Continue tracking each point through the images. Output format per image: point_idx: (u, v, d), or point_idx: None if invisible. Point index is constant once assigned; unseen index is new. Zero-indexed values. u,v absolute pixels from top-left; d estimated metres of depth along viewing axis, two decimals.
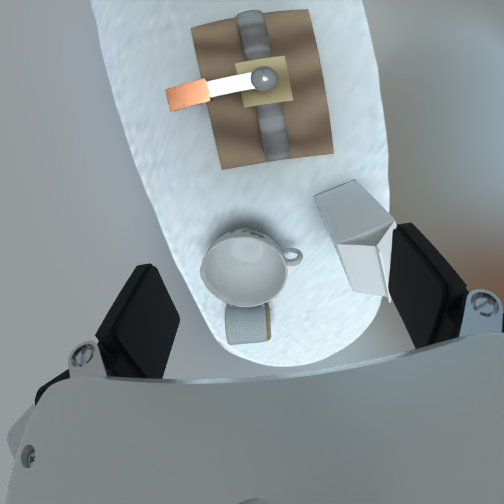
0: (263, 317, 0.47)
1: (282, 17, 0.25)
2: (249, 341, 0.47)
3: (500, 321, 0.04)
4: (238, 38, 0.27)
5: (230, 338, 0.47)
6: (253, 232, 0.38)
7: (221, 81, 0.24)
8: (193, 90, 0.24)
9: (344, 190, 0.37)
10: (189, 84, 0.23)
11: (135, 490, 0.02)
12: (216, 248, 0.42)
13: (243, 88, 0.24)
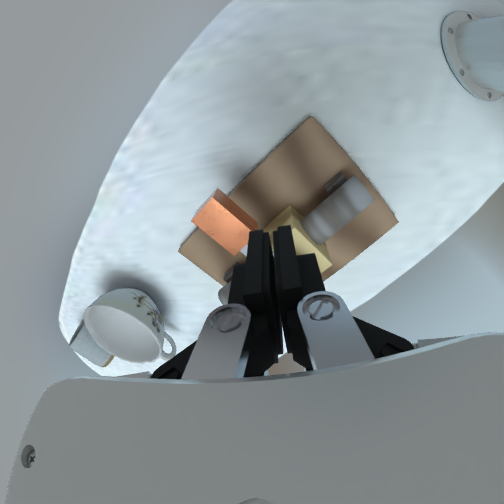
0: None
1: (376, 206, 0.28)
2: (86, 358, 0.40)
3: (348, 313, 0.06)
4: (326, 180, 0.27)
5: (73, 347, 0.38)
6: (154, 321, 0.34)
7: None
8: (233, 232, 0.21)
9: None
10: (237, 222, 0.20)
11: (135, 490, 0.02)
12: None
13: None
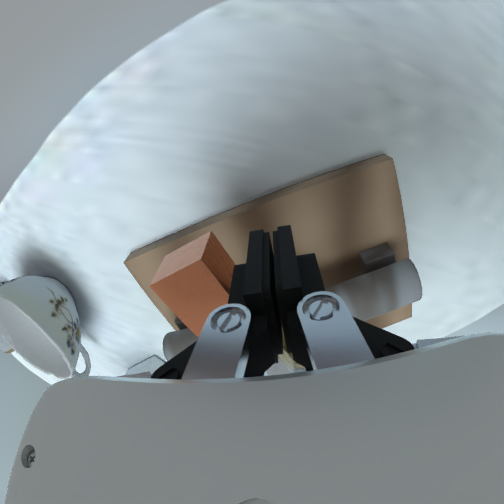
0: None
1: None
2: None
3: (348, 314, 0.06)
4: (366, 246, 0.19)
5: None
6: (70, 339, 0.21)
7: None
8: None
9: None
10: None
11: (135, 490, 0.02)
12: None
13: None
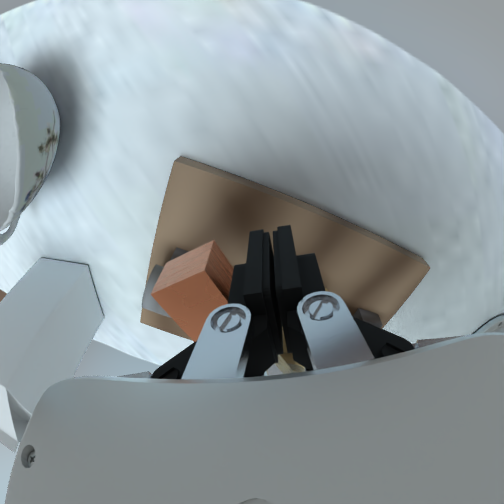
0: None
1: None
2: None
3: (348, 313, 0.06)
4: (366, 308, 0.22)
5: None
6: (32, 191, 0.13)
7: None
8: None
9: (88, 316, 0.23)
10: None
11: (135, 490, 0.02)
12: None
13: None
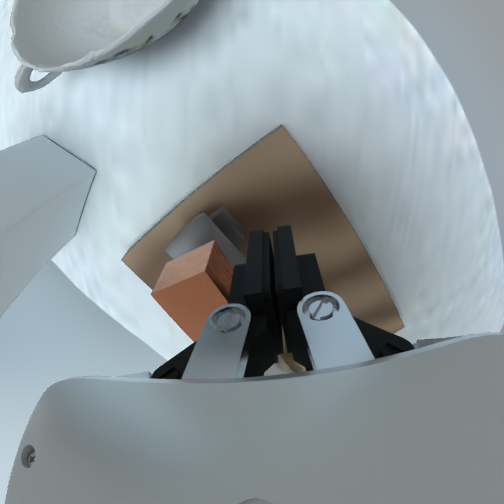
0: None
1: None
2: None
3: (348, 313, 0.06)
4: None
5: None
6: (125, 52, 0.09)
7: None
8: None
9: (65, 228, 0.18)
10: None
11: (135, 490, 0.02)
12: None
13: None
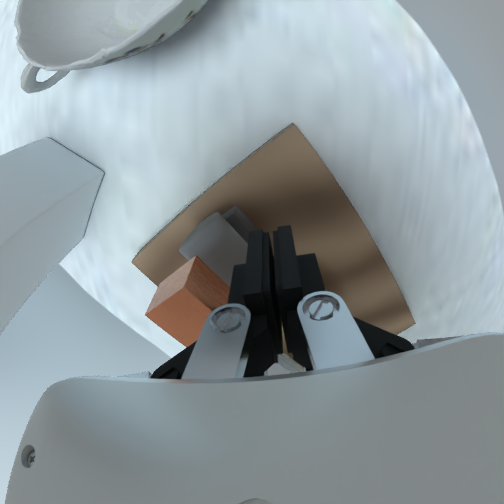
0: None
1: None
2: None
3: (348, 313, 0.06)
4: None
5: None
6: (136, 50, 0.09)
7: None
8: None
9: (73, 230, 0.18)
10: None
11: (135, 490, 0.02)
12: None
13: None
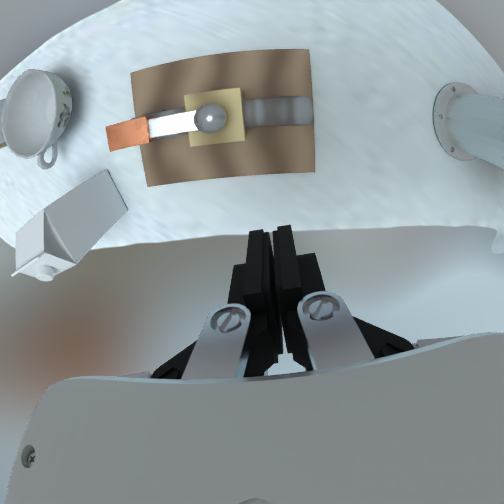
0: None
1: (305, 143, 0.31)
2: None
3: (348, 313, 0.06)
4: (283, 94, 0.28)
5: None
6: (63, 115, 0.24)
7: (162, 120, 0.22)
8: (133, 130, 0.22)
9: (112, 201, 0.34)
10: (129, 122, 0.21)
11: (135, 490, 0.02)
12: None
13: (185, 129, 0.22)
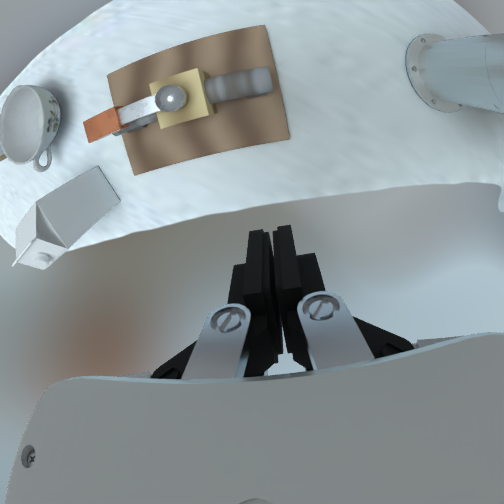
0: None
1: (275, 113, 0.31)
2: None
3: (348, 313, 0.06)
4: (246, 69, 0.28)
5: None
6: (51, 121, 0.26)
7: (129, 107, 0.23)
8: (105, 120, 0.23)
9: (104, 193, 0.35)
10: (101, 114, 0.22)
11: (135, 490, 0.02)
12: None
13: (149, 111, 0.23)
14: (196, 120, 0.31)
